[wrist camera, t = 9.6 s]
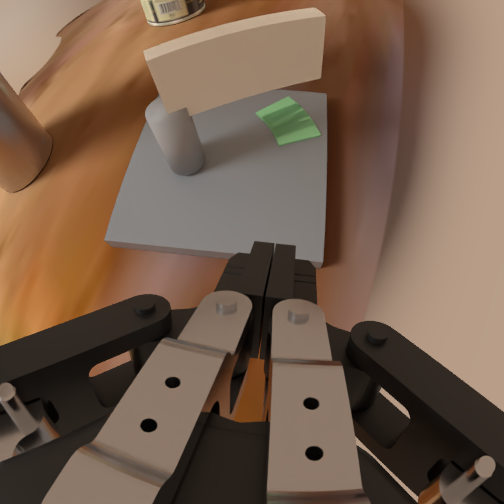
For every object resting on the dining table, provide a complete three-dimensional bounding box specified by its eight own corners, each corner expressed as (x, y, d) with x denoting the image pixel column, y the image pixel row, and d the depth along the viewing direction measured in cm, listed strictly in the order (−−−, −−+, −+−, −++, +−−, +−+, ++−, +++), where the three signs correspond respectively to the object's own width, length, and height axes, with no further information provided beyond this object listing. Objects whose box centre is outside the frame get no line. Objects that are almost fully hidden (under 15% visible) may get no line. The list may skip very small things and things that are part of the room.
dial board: (111, 246, 27) (103, 239, 25) (163, 100, 33) (159, 89, 31) (320, 268, 25) (323, 261, 23) (325, 103, 31) (326, 92, 29)
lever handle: (174, 180, 27) (122, 78, 16) (166, 154, 28) (119, 54, 17) (320, 131, 27) (332, 21, 16) (304, 108, 28) (309, 2, 17)
